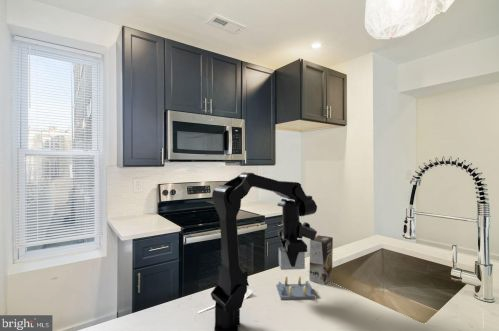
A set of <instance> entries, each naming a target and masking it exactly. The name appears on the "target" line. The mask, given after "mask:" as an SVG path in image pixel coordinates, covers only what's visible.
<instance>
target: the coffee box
mask: <svg viewBox="0 0 499 331" xmlns="http://www.w3.org/2000/svg"><path fill="white" fill-rule="evenodd" d="M333 241H334V240H333V237H332V236H326V235H320V234H318V235H316V237H315V239H314V241H313V240H311V239H309V272H308V273H309V274H308V275H309V278H308V279H309V280H308V281H311V282H314V283H317V284H320V285H325V284H326V283H327V282H329V280H331V278H332V277H333V256H334V255H333V254H334V252H333V248H334V247H333V246H334V245H333V244H334V242H333Z"/></svg>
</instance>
